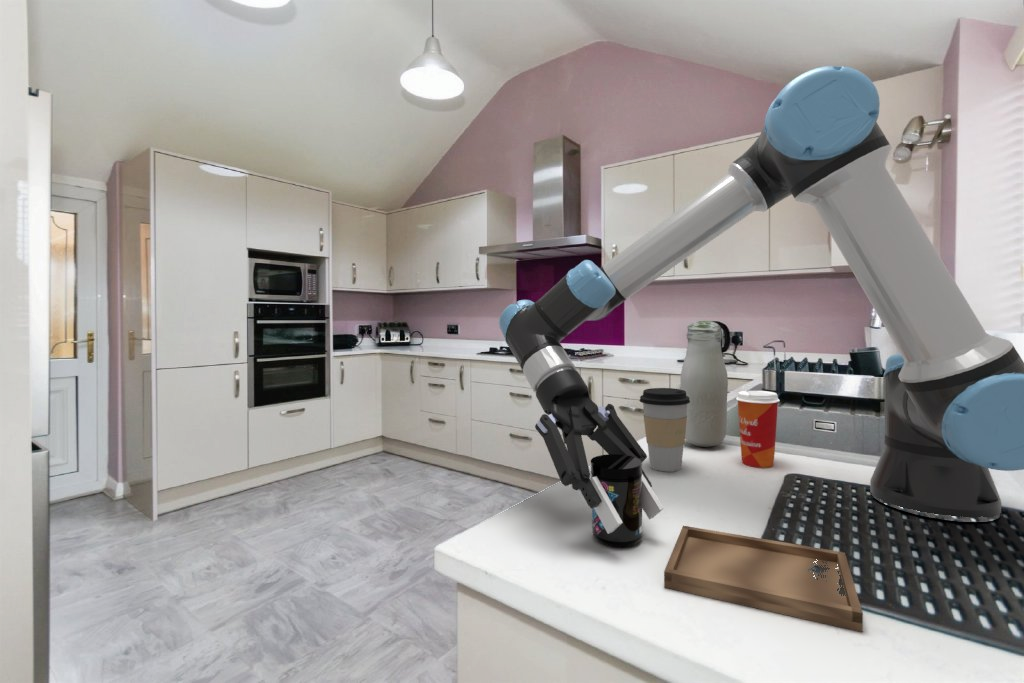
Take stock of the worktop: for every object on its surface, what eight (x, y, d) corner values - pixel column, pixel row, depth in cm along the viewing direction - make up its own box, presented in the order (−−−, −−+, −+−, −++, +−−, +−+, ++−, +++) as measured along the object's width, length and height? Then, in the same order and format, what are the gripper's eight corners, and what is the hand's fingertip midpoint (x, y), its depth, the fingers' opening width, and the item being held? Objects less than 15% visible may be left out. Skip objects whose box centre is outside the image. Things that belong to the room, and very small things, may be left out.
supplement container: (594, 524, 71) (592, 453, 70) (643, 528, 69) (641, 455, 68) (589, 546, 64) (587, 467, 64) (643, 551, 62) (642, 470, 62)
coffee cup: (694, 475, 91) (693, 394, 90) (641, 473, 93) (640, 394, 92) (687, 460, 100) (686, 387, 99) (639, 459, 102) (638, 387, 101)
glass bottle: (681, 450, 108) (680, 322, 106) (680, 438, 117) (679, 321, 116) (730, 453, 105) (730, 321, 103) (725, 441, 114) (725, 320, 113)
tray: (844, 567, 58) (844, 552, 57) (862, 632, 46) (862, 613, 46) (683, 538, 66) (682, 525, 66) (664, 587, 54) (664, 571, 54)
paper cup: (729, 458, 101) (729, 390, 100) (767, 457, 101) (767, 389, 100) (746, 470, 93) (746, 396, 93) (788, 469, 93) (788, 395, 92)
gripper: (593, 390, 84) (671, 515, 71) (493, 405, 73) (563, 554, 61) (614, 361, 79) (703, 490, 66) (510, 372, 69) (591, 527, 56)
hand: (636, 520), depth 63 cm, fingers closed on supplement container, 7 cm apart
